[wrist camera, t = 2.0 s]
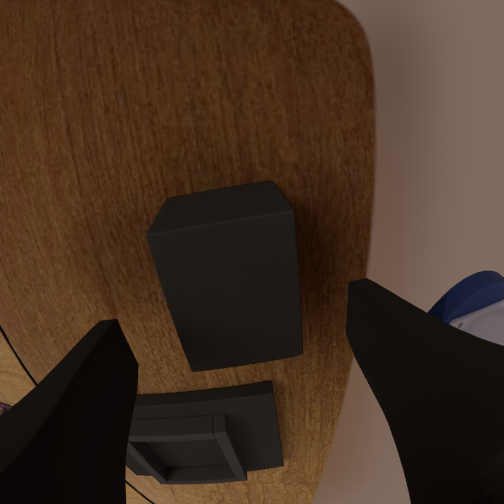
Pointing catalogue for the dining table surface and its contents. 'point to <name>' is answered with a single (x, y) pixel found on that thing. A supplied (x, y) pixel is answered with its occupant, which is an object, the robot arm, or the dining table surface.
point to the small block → (230, 274)
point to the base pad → (205, 435)
